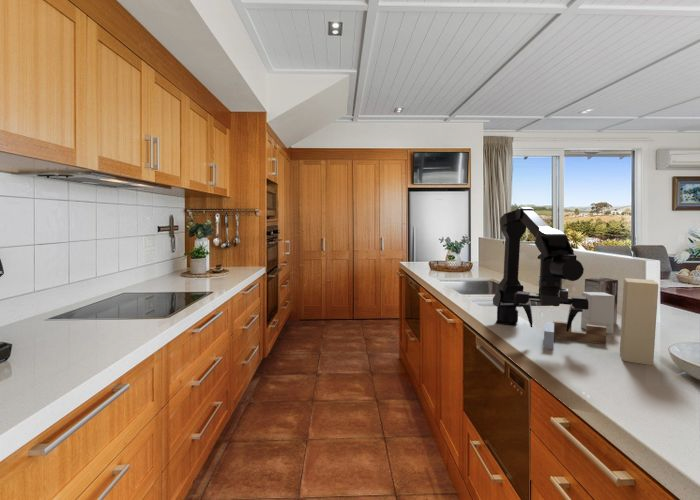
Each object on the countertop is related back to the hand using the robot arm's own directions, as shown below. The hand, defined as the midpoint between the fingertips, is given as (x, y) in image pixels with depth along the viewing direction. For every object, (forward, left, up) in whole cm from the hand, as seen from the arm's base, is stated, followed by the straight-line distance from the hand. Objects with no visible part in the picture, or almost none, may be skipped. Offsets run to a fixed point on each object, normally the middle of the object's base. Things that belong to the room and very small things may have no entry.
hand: (548, 329), depth 110 cm
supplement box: (+14, +28, -6) cm, 32 cm away
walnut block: (+8, +12, -5) cm, 15 cm away
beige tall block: (+21, 0, -5) cm, 22 cm away
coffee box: (+16, +41, -6) cm, 44 cm away
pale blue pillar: (0, +4, -5) cm, 7 cm away
